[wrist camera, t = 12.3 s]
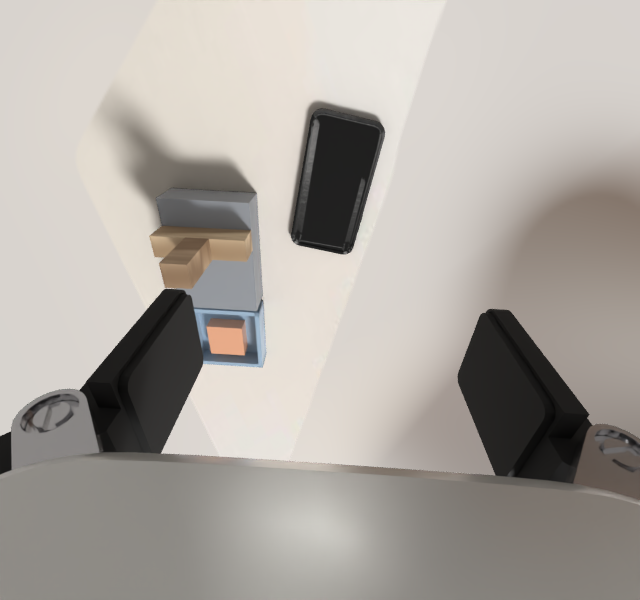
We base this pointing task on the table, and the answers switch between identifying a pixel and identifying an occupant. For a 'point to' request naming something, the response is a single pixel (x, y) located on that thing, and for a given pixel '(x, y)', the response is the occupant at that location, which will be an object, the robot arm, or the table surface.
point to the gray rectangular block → (220, 276)
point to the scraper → (196, 251)
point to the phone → (335, 180)
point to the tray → (253, 330)
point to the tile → (227, 336)
